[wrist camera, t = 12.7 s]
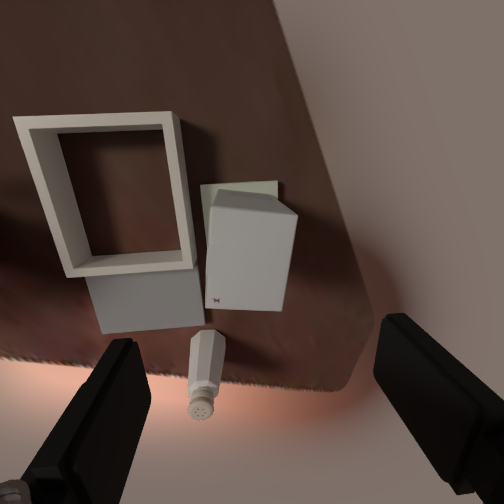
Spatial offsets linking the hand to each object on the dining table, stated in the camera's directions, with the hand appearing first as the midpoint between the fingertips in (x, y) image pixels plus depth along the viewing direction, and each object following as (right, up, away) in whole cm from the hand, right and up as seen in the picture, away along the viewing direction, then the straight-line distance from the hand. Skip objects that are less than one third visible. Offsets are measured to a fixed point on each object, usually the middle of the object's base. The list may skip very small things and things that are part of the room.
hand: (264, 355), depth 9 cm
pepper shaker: (-7, -10, +28) cm, 30 cm away
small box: (-2, +8, +21) cm, 22 cm away
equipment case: (-15, +6, +21) cm, 27 cm away
